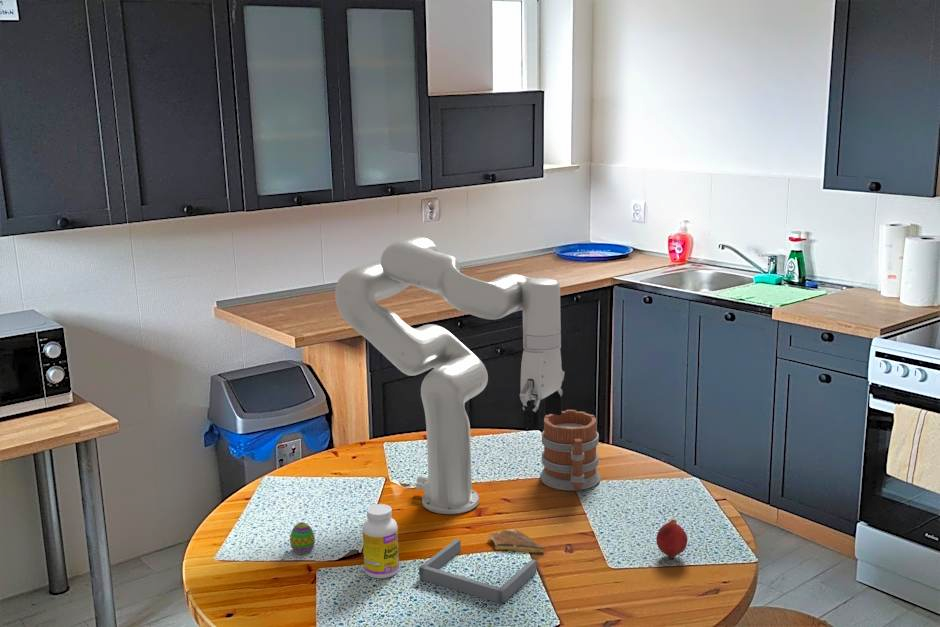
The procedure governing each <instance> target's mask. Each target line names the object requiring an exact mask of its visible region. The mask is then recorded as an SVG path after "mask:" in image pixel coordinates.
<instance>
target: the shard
mask: <svg viewBox="0 0 940 627" xmlns="http://www.w3.org/2000/svg"><path fill="white" fill-rule="evenodd" d="M488 539H490V540H491V541H492V542H493V543H494V550H496V551H505V550H506V551H515V552H524V553H538V554H539V553H544V552H545V551H546V548H545V547H544V546H542V545H541V544H539V543H537V542H536V541H535V540H534V539H532V538H531V537H529V536H528V535H527V534H524V532H521V531H519V530H518V529H517V528H516V529H511V528H510V529H508V528H507V529H504V530H501V531H498V532H497V531H496V532H493V533H490V534H489V535H488Z"/></svg>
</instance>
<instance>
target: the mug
mask: <svg viewBox="0 0 940 627" xmlns="http://www.w3.org/2000/svg"><path fill="white" fill-rule="evenodd" d="M541 432H542V433H541V443H542V445H543V451H542V453H541V465H542V466H543V467H544V468H543V469H542V471H541V473H540V474H539V480H540V481H541V482H542V483H543V484H544V485H545V486H547V487H548V488H551V489H554V490H559V491H562V492H565V491H567V492H579V491H583V490H588V489H591V488H593V487H595V486H596V485H597V484H598V483H599V482H600V481H601V475H600V473H599V471H598V469H597V467H598V466H599V459H600V458H599V453H598V452H597V446H599V443H600V442H599V439H600V438H599V437H600V436H599V432H598V431H597V418H596V416H595V415H594V414H590V413H587V412H586V411H577V409H566V410H562V414H561V415H554V414H545V416H544V419H543V431H541Z"/></svg>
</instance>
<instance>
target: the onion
mask: <svg viewBox="0 0 940 627" xmlns="http://www.w3.org/2000/svg"><path fill="white" fill-rule="evenodd" d="M655 540H656V545H657V547H658V550H659V551H661V552H662V554H664V555H666V556H668V557H669V558H671V559H673V558H676V556H678V555H680V554H681V553H683V552H684V551H685V550H686V548H687V545H688V536H687V533H686V531H685V530H684V528H683V527H682V526H681V525H680V524H679V523H677V520H676V518H671V519H670V520H669V521H668V522H667V523H665V524H663V525H662V526H661V527H659V529H658V531H657V533H656V538H655Z"/></svg>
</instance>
